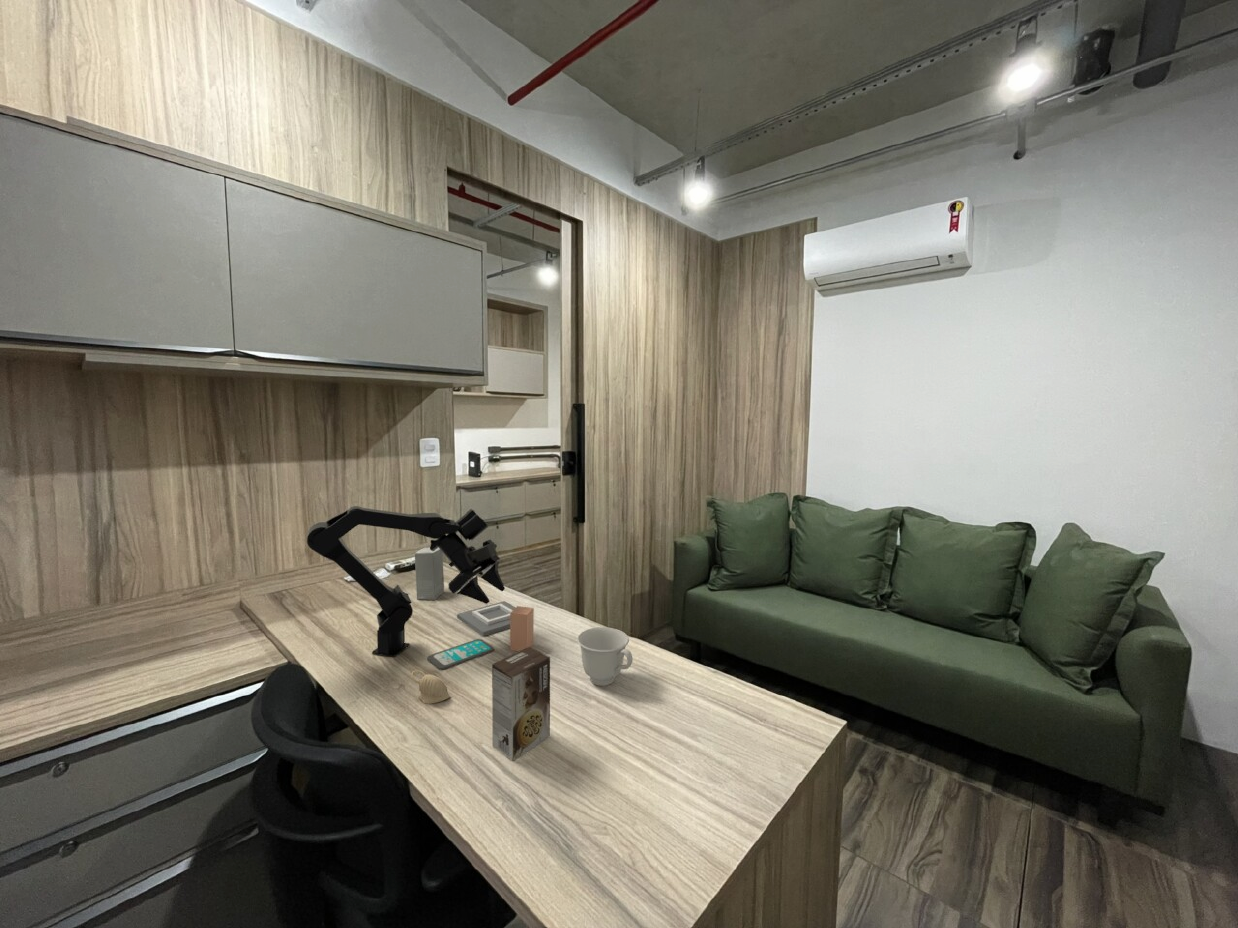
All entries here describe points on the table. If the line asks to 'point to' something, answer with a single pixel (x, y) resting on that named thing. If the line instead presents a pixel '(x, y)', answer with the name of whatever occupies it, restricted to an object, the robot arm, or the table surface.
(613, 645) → the teacup
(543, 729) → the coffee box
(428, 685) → the beige creamer pitcher
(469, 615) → the dock board
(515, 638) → the terracotta block
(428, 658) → the smartphone
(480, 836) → the table surface
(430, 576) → the skincare box
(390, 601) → the robot arm
